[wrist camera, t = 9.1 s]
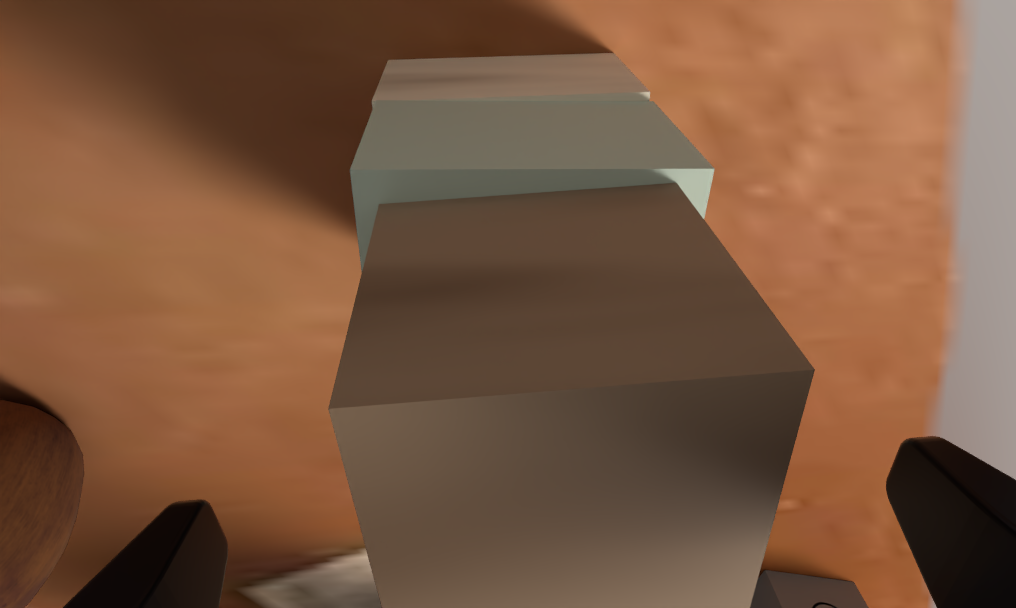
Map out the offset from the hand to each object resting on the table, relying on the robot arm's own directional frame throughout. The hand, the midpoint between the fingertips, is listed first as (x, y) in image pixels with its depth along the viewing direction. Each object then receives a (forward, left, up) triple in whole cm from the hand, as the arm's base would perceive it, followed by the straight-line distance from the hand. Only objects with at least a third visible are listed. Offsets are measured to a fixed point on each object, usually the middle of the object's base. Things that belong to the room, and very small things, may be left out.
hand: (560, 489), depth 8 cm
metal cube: (0, 0, -4) cm, 4 cm away
